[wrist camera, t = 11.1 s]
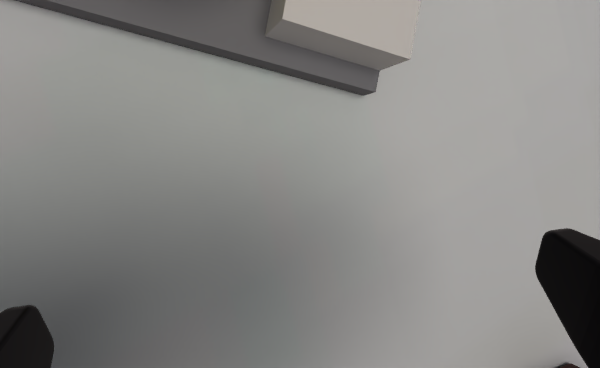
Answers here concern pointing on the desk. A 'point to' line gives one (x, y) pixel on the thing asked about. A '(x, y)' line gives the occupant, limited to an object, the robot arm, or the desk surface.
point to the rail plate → (216, 34)
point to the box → (569, 366)
